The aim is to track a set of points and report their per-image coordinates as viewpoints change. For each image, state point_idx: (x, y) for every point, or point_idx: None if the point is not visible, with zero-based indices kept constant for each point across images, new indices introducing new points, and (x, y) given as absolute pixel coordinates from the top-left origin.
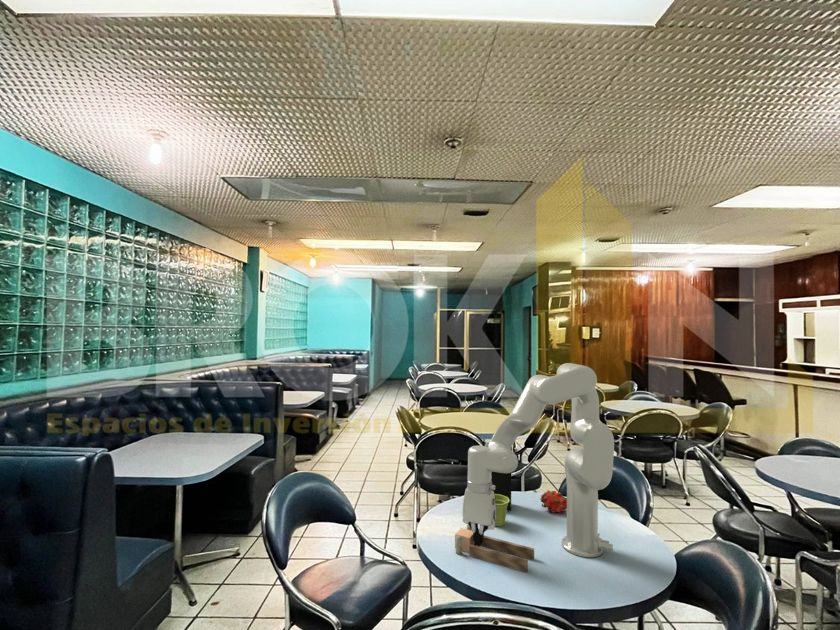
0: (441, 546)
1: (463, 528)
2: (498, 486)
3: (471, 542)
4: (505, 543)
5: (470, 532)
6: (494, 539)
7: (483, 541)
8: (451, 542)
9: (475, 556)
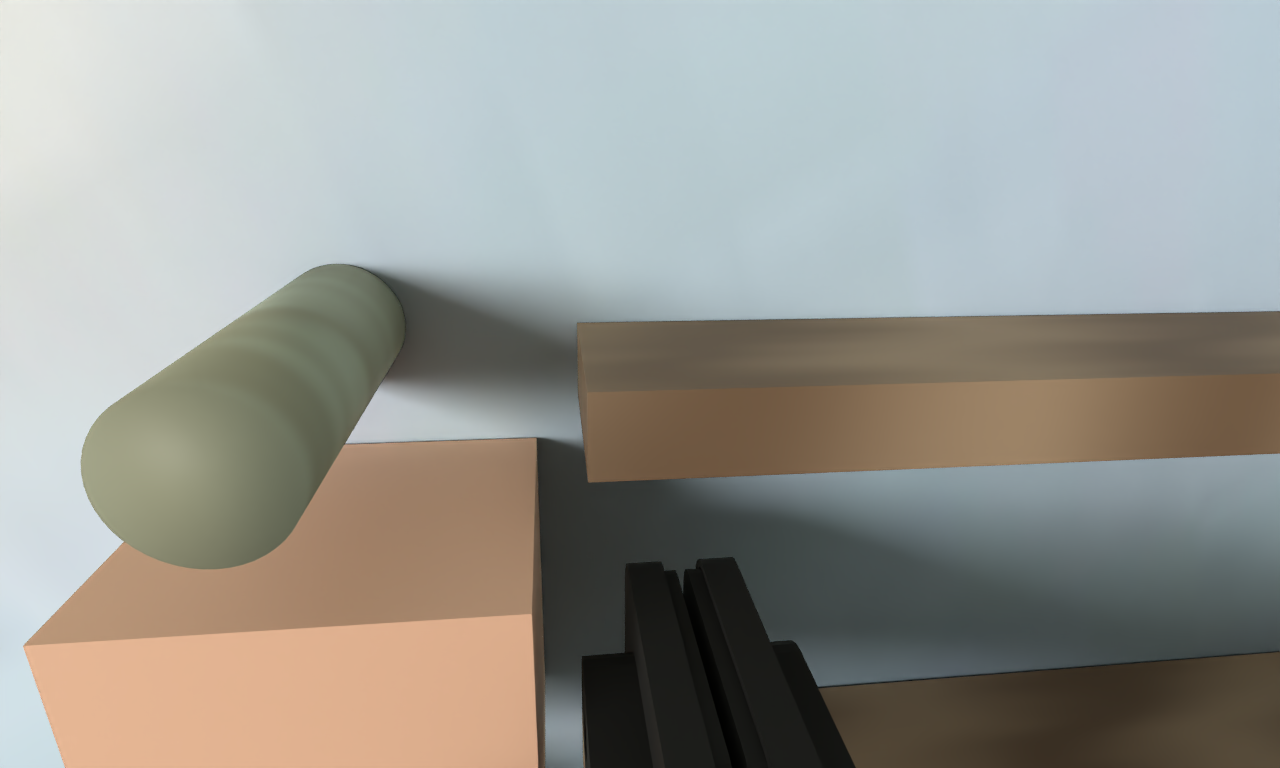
0: (25, 762)
1: (115, 646)
2: None
3: (541, 703)
4: (1241, 452)
5: (437, 729)
6: (1006, 444)
7: (790, 644)
8: (72, 565)
9: None
